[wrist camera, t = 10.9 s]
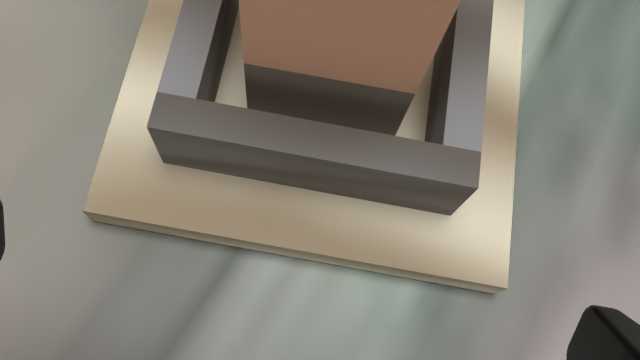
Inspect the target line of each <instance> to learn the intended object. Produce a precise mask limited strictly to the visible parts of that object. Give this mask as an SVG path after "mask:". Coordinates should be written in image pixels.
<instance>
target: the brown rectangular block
mask: <svg viewBox="0 0 640 360" xmlns="http://www.w3.org/2000/svg"><path fill="white" fill-rule="evenodd" d="M460 1H461V0H239V11H240V24H241V36H242V49H243V61H244V74H245V86H246V99H247V108H248V109H253V110H259V111H264V112H269V113H275V114H280V115H286V116H291V117H296V118H302V119H307V120H312V121H318V122H323V123H329V124H334V125H339V126H345V127H350V128H355V129H361V130H366V131H372V132H377V133H382V134H388V135H393V136H395V135H396V133H397V131H398V129H399V127H400V125H401V122H402V120H403V118H404V116H405V114H406V112H407V110H408V108H409V106H410V104H411V102H412V100H413V98H414V96H415V94H416V92H417V90H418V88H419V86H420V83H421V81H422V79H423V77H424V75H425V73H426V71H427V69H428V67H429V65H430V63H431V61H432V59H433V57H434V55H435V53H436V51H437V49H438V47H439V44H440V42H441V40H442V38H443V36H444V34H445V32H446V30H447V28H448V26H449V24H450V22H451V20H452V18H453V16H454V14H455V12H456V10H457V7H458V5H459V3H460Z"/></svg>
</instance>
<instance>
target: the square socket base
mask: <svg viewBox="0 0 640 360" xmlns="http://www.w3.org/2000/svg"><path fill="white" fill-rule="evenodd" d="M524 9H525V0H461V1H460V3H459V5H458V7H457V10H456V12H455V14H454V16H453V18H452V20H451V22H450V24H449V26H448V28H447V30H446V32H445V34H444V36H443V38H442V40H441V42H440V44H439V47H438V49H437V51H436V53H435V55H434V57H433V59H432V61H431V63H430V65H429V67H428V69H427V71H426V73H425V75H424V77H423V79H422V81H421V83H420V86H419V88H418V90H417V92H416V94H415V96H414V98H413V100H412V102H411V104H410V106H409V108H408V110H407V112H406V114H405V116H404V118H403V120H402V122H401V125H400V127H399V129H398V131H397V133H396V135H395V136H393V135H388V134H382V133H377V132H372V131H366V130H361V129H355V128H350V127H345V126H339V125H334V124H329V123H323V122H318V121H312V120H307V119H302V118H296V117H291V116H286V115H280V114H275V113H269V112H264V111H259V110H253V109H248V108H247V99H246V86H245V74H244V61H243V49H242V36H241V24H240V11H239V0H149V2H148V5H147V8H146V11H145V14H144V17H143V21H142V24H141V27H140V30H139V33H138V36H137V40H136V43H135V46H134V49H133V52H132V55H131V59H130V62H129V65H128V68H127V71H126V74H125V78H124V81H123V84H122V87H121V90H120V93H119V97H118V100H117V103H116V106H115V109H114V112H113V116H112V119H111V122H110V125H109V128H108V131H107V135H106V138H105V141H104V144H103V147H102V150H101V154H100V157H99V160H98V163H97V166H96V169H95V173H94V176H93V179H92V182H91V185H90V188H89V192H88V195H87V198H86V201H85V204H84V207H83V212H84V213H85V214H86V215H87V216H88V217H89V218H90V219H91V220H92V221H97V222H103V223H108V224H114V225H119V226H125V227H130V228H136V229H141V230H147V231H152V232H158V233H163V234H169V235H174V236H180V237H185V238H191V239H196V240H202V241H207V242H213V243H218V244H224V245H229V246H235V247H240V248H246V249H251V250H257V251H262V252H268V253H273V254H279V255H284V256H290V257H295V258H301V259H306V260H312V261H317V262H323V263H328V264H334V265H339V266H345V267H350V268H356V269H361V270H367V271H372V272H378V273H383V274H389V275H394V276H400V277H405V278H411V279H416V280H422V281H427V282H433V283H438V284H444V285H449V286H455V287H460V288H466V289H471V290H477V291H482V292H488V293H493V294H496V293H498V292H501V291H503V290H505V289H507V288H508V274H509V258H510V241H511V225H512V208H513V191H514V175H515V158H516V142H517V125H518V108H519V92H520V75H521V59H522V42H523V25H524Z"/></svg>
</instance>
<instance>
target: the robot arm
mask: <svg viewBox="0 0 640 360" xmlns="http://www.w3.org/2000/svg"><path fill="white" fill-rule="evenodd" d="M4 250H5V231H4V214H3V205H2V202H1V200H0V260H1V259H2V256H3V253H4ZM567 360H640V325H639V324H638V323H636V322H635V321H633V320H632V319H630V318H629V317H628V316H626V315H625V314H623V313H622V312H620V311H619V310H616V309H613V308H608V307H602V306H597V305H591V306H589V307H587V308H586V309H585V311H584V312H583V314H582V316H581V319H580V321H579V323H578V325H577V327H576V330H575V332H574V334H573V336H572V339H571V341H570V343H569V346H568V349H567Z"/></svg>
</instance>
